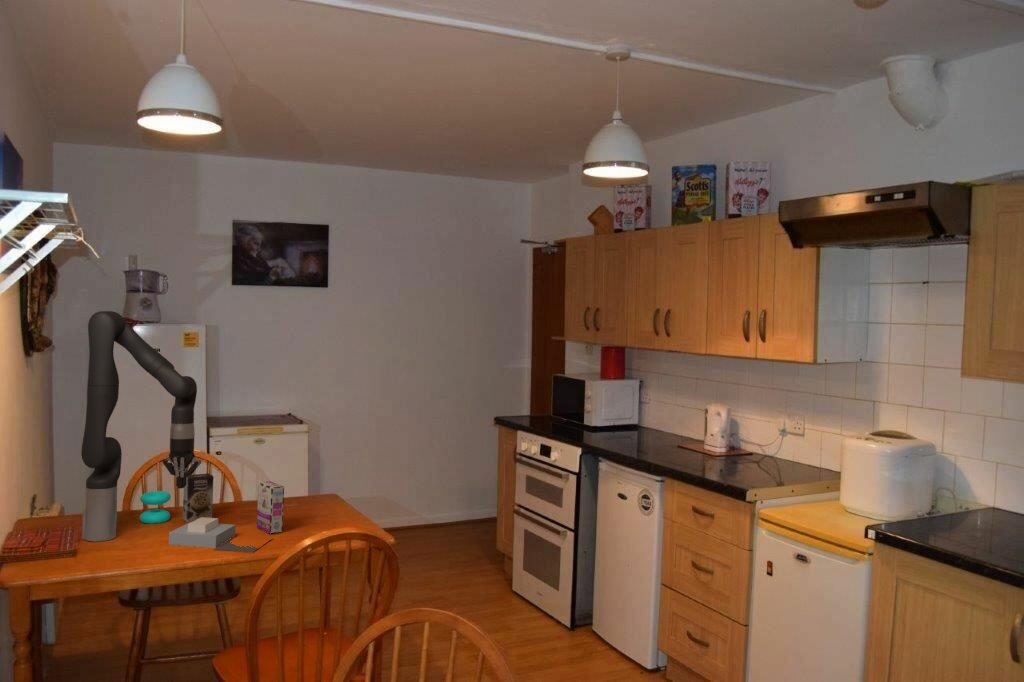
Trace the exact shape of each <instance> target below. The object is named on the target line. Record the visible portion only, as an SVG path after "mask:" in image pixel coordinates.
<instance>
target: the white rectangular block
mask: <svg viewBox="0 0 1024 682" xmlns="http://www.w3.org/2000/svg"><path fill="white" fill-rule="evenodd" d="M188 523H189V522H188ZM218 524H219V518H217V517H216V518H215V517H212V518H205V517H201V518H199V519H197V520H195V521H192V522H191V523H189V524H188V532H200V533H206V532H207V531H209V530H211V529H213V528H215V527H217V526H218Z"/></svg>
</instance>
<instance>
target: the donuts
mask: <svg viewBox="0 0 1024 682" xmlns="http://www.w3.org/2000/svg"><path fill="white" fill-rule="evenodd" d="M171 497H172V496H171V494H170V492H167V491H161V490H155V491H154V490H153V491H147V492H143V494H141V495H140V498H139V499H140V502H141V503H142V504H145V505H148V506H159V505H163V504H166V503H168V502H169V501H170V500H171ZM170 518H171V514H170V512H169V511H167V510H165V509H160V508H159V509H158V508H156V509H149V510H145V511H144V512H142V513H141V514H140V515H139V520H140V521H141V522H142V523H144V524H161V523H165V522H168V521H169V520H170Z"/></svg>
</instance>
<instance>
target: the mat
mask: <svg viewBox="0 0 1024 682" xmlns="http://www.w3.org/2000/svg"><path fill="white" fill-rule="evenodd" d="M230 541H231V539H230V540H228V541H227V542H225V543H223V544H222V545H220V546H218V547H217V548H213V550H214V551H221V550H222V551H223V552H224V551H225V552H235V551H243V552H242V553H249V552H253V553H255V552H256V551H258V550H257V548H255V547H253V546H252V547H253V548H251V547H249V546H246V547H247V548H246V547H244V546H242V547H240V546H236V545H234V544H231V543H232V542H231V543H230ZM250 546H251V545H250ZM255 550H256V551H255ZM254 551H255V552H254Z"/></svg>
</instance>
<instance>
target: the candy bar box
mask: <svg viewBox="0 0 1024 682" xmlns="http://www.w3.org/2000/svg"><path fill="white" fill-rule="evenodd" d="M284 499H285V486H284V485H281V484H279V483H275V482H273V481H270V480H269V481H262V482H258V483H257V509H256V510H257V513H256V516H257V517H256V528H257V527H258V528H260V529H262V530H264V531H266V532H265V533H267V532H268V533H267V534H269V533H270V534H269V535H272V534H271V533H277V532H282V531H283V529H284V526H283V525H284V503H285V500H284ZM258 528H257V529H258ZM260 529H259V530H260ZM262 530H261V531H262ZM264 531H263V532H264ZM282 533H283V532H282ZM277 534H278V533H277Z"/></svg>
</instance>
